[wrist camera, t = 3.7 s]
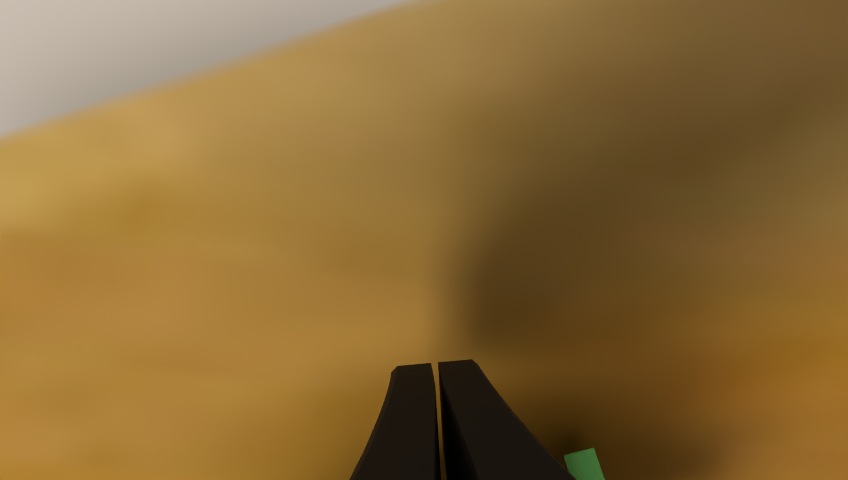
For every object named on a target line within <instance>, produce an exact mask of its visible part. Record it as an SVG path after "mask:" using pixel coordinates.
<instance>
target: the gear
mask: <svg viewBox="0 0 848 480" xmlns="http://www.w3.org/2000/svg"><path fill="white" fill-rule="evenodd" d="M563 456H564V459H565V462H566V465H567V468H568V472H569V473H570V474H571V475H572V476H573V477H575V478H576V479H577V480H605V478H604V476H603V473H602V470H601V467H600V464H599V461H598V458H597V455H596V453H595V450H594V448H589V449H585V450H581V451H577V452H574V453H570V454H566V455H563Z"/></svg>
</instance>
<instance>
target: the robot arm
mask: <svg viewBox="0 0 848 480" xmlns="http://www.w3.org/2000/svg"><path fill="white" fill-rule="evenodd" d="M438 369H439V386H440V403H441V420H442V437H443V453H444V461H445V470H446V478H447V480H577V479H576V478H575V477H573V476H572V475H571V474H570V473H569V472H568V471H567V470H566V469H565V468H564V467H563V466H562V465H561V464H560V463H559V462H558V461H557V460H556V459H555V458H554V457H553V456H552V455H551V454H550V452H549V451H548V450H547V449H546V448H545V447H544V446H543V445H542V444H541V443H540V442H539V441H538V440H537V439H536V437H535V436H534V435H533V434H532V433H531V432H530V431H529V430H528V428H527V427H526V426H525V425H524V424H523V423H522V422H521V420H520V419H519V418H518V417H517V416H516V415H515V414H514V412H513V411H512V410H511V409H510V407H509V406H508V405H507V404H506V403H505V401H504V400H503V399H502V397H501V396H500V395H499V394H498V392H497V391H496V390H495V388H494V387H493V386H492V384H491V383H490V382H489V380H488V379H487V378H486V376H485V375H484V373H483V372H482V370H481V369H480V367H479V366H478V364H477V363H475V362H474V361H473V360H472V359H470V360H459V361H448V362H438ZM350 480H441V472H440V455H439V439H438V423H437V407H436V391H435V382H434V376H433V371H432V366H431V363H426V364H415V365H404V366H397V367H396V368H395V369H394V370H393V371H392V372H391V379H390V383H389V387H388V391H387V394H386V397H385V401H384V403H383V406H382V409H381V412H380V414H379V417H378V420H377V422H376V424H375V427H374V429H373V431H372V434H371V436H370V438H369V441H368V443H367V445H366V448H365V450H364V452H363V454H362V456H361V458H360V460H359V462H358V464H357V466H356V468H355V470H354V472H353V474H352V476H351V478H350Z"/></svg>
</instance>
